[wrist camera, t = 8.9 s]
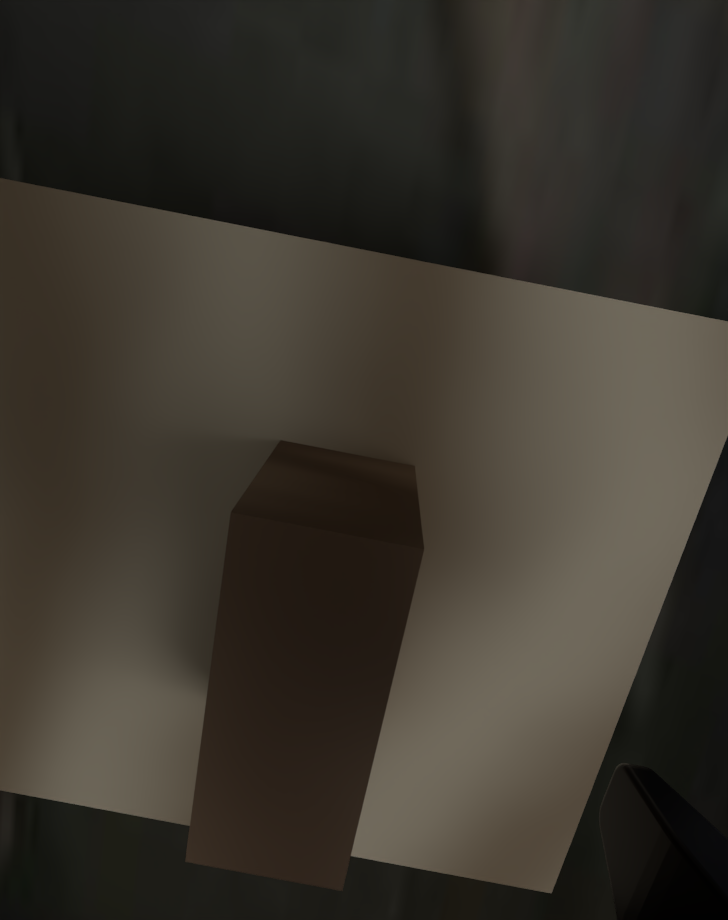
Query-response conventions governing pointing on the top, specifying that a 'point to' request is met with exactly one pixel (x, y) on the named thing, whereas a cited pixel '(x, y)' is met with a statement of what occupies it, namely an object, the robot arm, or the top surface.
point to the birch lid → (329, 537)
